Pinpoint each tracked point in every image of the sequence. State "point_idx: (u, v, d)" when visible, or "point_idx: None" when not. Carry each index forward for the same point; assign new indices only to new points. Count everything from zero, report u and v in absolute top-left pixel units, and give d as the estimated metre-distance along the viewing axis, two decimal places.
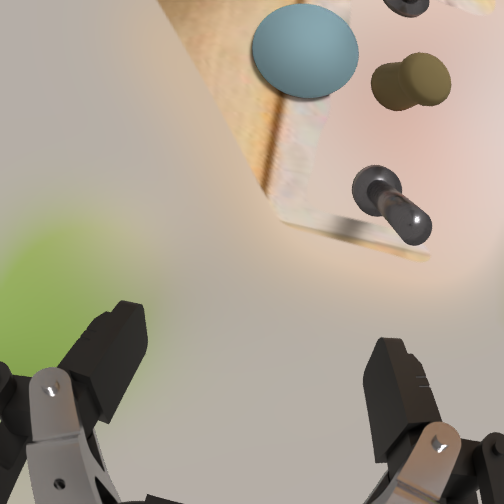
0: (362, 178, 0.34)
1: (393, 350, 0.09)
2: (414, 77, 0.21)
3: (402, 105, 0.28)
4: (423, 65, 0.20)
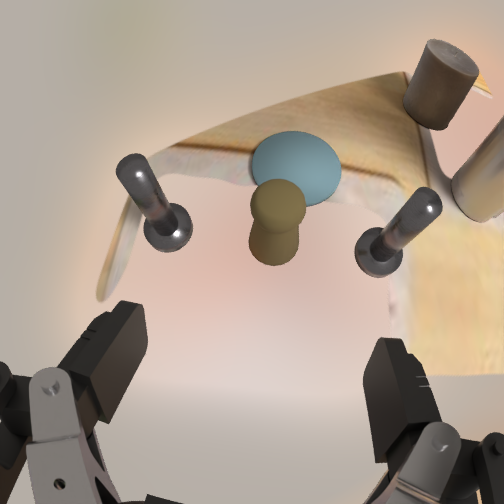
0: (179, 208, 0.38)
1: (393, 350, 0.09)
2: (274, 181, 0.28)
3: (252, 226, 0.34)
4: (289, 188, 0.28)
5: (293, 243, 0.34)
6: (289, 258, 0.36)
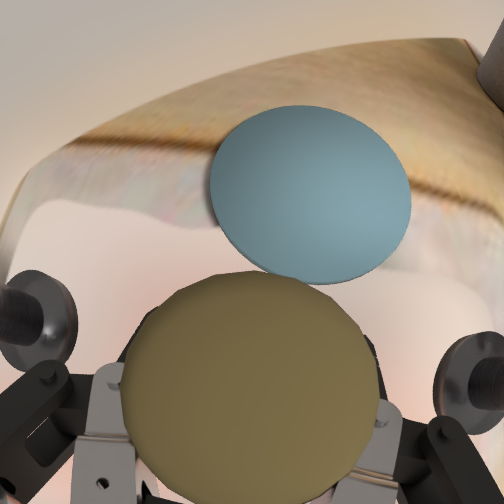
0: (47, 285, 0.15)
1: None
2: (228, 301, 0.05)
3: None
4: (309, 355, 0.05)
5: None
6: None
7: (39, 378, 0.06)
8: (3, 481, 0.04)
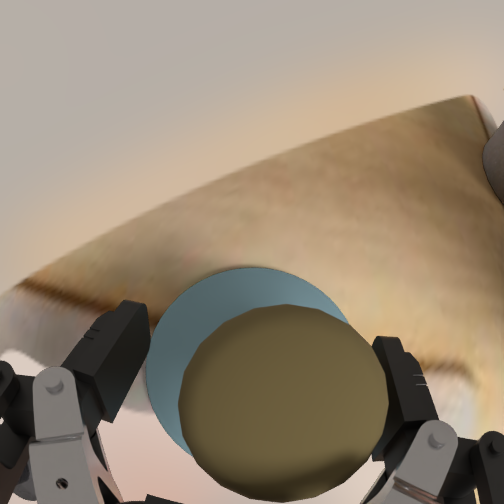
0: None
1: (390, 348, 0.09)
2: (273, 335, 0.06)
3: None
4: (336, 374, 0.06)
5: None
6: None
7: None
8: None
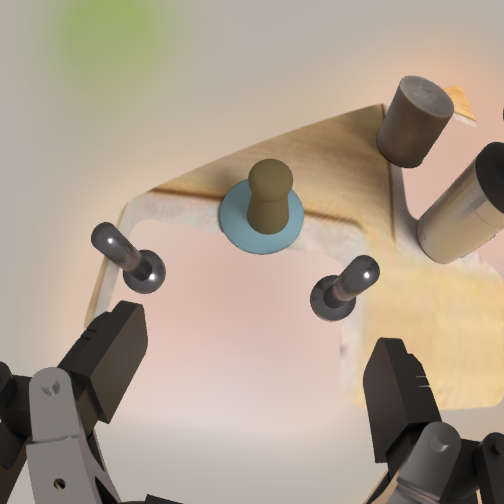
0: (153, 255, 0.42)
1: (393, 350, 0.09)
2: (267, 160, 0.35)
3: None
4: (279, 166, 0.35)
5: (284, 213, 0.41)
6: (281, 228, 0.43)
7: None
8: None
